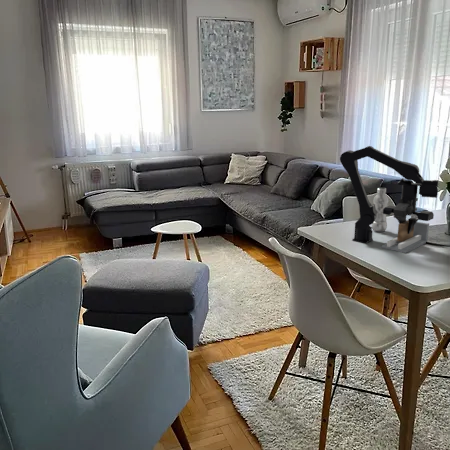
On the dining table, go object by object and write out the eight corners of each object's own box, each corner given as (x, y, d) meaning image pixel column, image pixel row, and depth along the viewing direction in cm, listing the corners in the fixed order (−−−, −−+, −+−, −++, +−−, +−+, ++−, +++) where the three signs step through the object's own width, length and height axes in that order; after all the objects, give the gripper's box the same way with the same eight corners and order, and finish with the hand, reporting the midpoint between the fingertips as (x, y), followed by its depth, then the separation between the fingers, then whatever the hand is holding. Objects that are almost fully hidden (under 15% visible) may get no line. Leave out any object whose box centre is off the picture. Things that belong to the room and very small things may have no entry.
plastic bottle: (389, 232, 202) (393, 188, 196) (377, 233, 199) (380, 190, 194) (380, 228, 207) (383, 186, 202) (368, 230, 205) (371, 187, 200)
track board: (381, 247, 180) (383, 228, 177) (404, 237, 193) (405, 219, 191) (405, 252, 172) (407, 233, 170) (427, 242, 186) (429, 223, 184)
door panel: (397, 240, 179) (398, 224, 177) (408, 235, 186) (409, 219, 184) (401, 241, 178) (403, 225, 176) (413, 236, 184) (414, 220, 183)
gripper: (377, 196, 179) (374, 233, 183) (423, 202, 165) (419, 242, 169) (390, 192, 186) (387, 227, 190) (436, 197, 173) (432, 236, 177)
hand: (405, 233), depth 181 cm, fingers closed on door panel, 2 cm apart
